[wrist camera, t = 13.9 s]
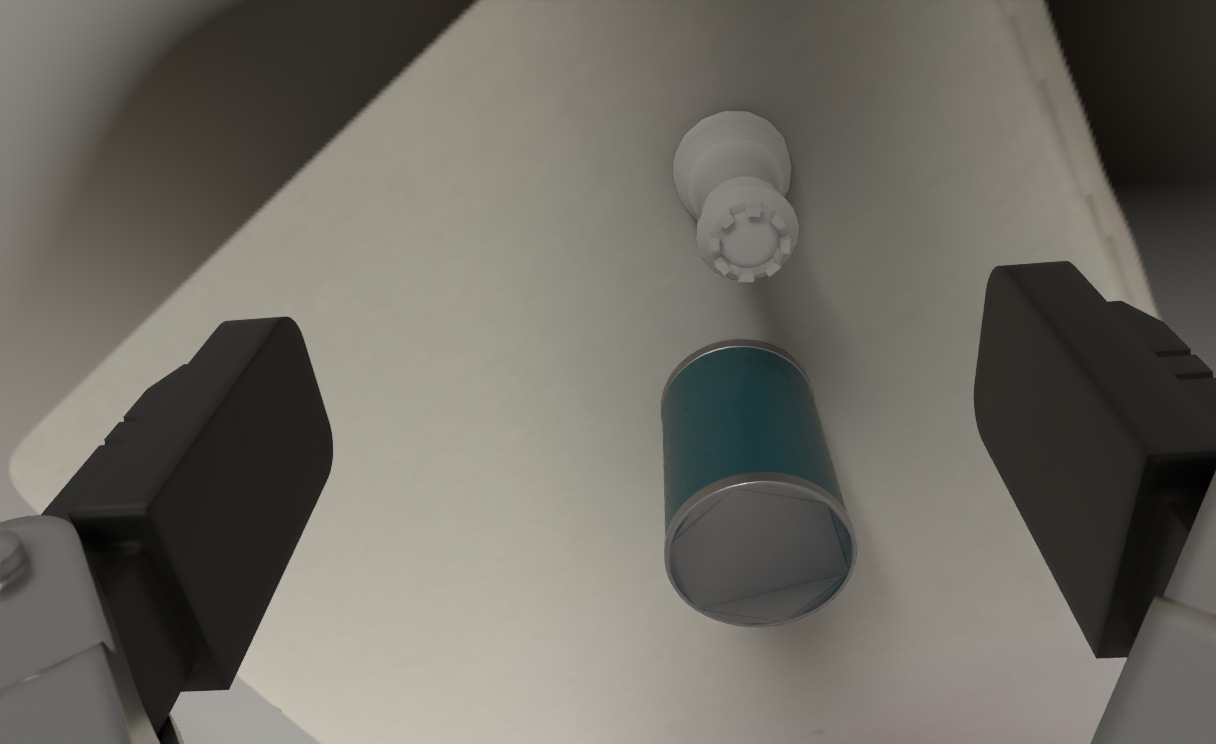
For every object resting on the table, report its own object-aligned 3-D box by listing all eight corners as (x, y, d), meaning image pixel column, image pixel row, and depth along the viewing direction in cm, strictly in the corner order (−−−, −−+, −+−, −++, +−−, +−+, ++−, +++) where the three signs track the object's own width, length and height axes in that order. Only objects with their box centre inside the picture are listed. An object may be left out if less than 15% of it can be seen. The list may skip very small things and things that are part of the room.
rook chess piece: (804, 120, 35) (843, 193, 28) (769, 230, 37) (797, 322, 30) (688, 94, 35) (698, 161, 28) (660, 206, 37) (662, 294, 30)
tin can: (656, 344, 40) (658, 486, 31) (814, 334, 39) (861, 476, 31) (665, 470, 43) (670, 631, 35) (811, 463, 43) (853, 623, 34)
